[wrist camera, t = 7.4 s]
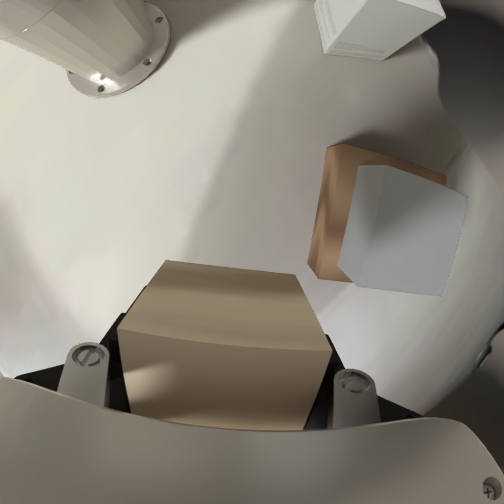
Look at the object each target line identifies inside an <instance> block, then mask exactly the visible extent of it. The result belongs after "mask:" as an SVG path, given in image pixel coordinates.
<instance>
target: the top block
mask: <svg viewBox="0 0 504 504" xmlns="http://www.w3.org/2000/svg"><path fill="white" fill-rule="evenodd" d="M467 200H468V196H466V195H464V194H462V193H459V192H457V191H455V190H452V189H450V188H448V187H445V186H443V185H440V184H438V183H435V182H433V181H430V180H427V179H425V178H422V177H419V176H417V175H414V174H411V173H408V172H405V171H402V170H400V169H397V168H394V167H391V166H387V165H358V170H357V176H356V181H355V187H354V192H353V197H352V202H351V207H350V212H349V216H348V221H347V226H346V230H345V234H344V239H343V243H342V247H341V251H340V256H339V260H338V264H337V266H338V267H339V268H340V269H341V270H342V271H343V272H344V273H345V274H346V275H347V276H348V277H349V278H350V279H351V280H352V281H353V283H354V284H355V285H356V286H357V287H364V288H372V289H380V290H388V291H397V292H405V293H414V294H422V295H431V296H440V297H442V294H443V292H444V289H445V286H446V283H447V280H448V277H449V273H450V270H451V267H452V264H453V260H454V257H455V253H456V249H457V246H458V242H459V238H460V234H461V229H462V225H463V220H464V216H465V211H466V205H467Z"/></svg>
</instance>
